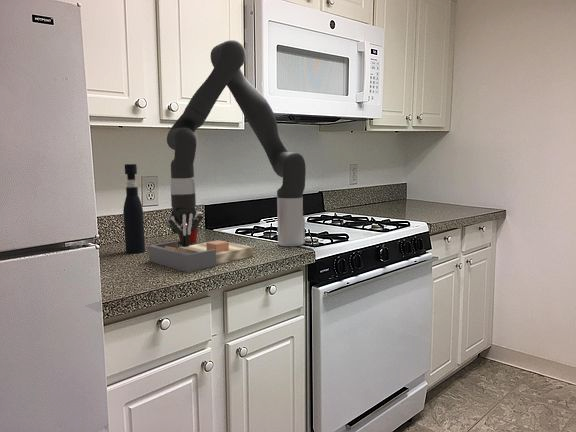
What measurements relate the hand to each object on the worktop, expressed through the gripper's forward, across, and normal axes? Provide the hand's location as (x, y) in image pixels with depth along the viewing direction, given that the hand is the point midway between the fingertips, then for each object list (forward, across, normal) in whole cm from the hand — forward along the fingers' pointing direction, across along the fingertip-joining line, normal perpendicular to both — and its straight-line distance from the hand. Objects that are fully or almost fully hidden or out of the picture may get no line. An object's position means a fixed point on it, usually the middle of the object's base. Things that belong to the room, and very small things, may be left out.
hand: (185, 246), depth 156 cm
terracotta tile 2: (+1, -7, +8) cm, 11 cm away
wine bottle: (+4, +5, -23) cm, 24 cm away
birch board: (+4, -9, +4) cm, 11 cm away
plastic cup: (+4, -17, -23) cm, 29 cm away
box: (+4, +4, +4) cm, 7 cm away
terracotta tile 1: (+1, +4, +1) cm, 4 cm away
